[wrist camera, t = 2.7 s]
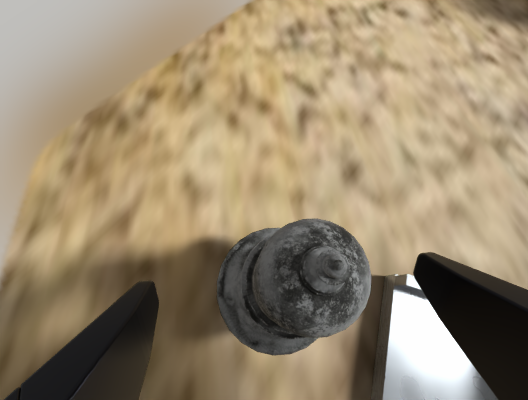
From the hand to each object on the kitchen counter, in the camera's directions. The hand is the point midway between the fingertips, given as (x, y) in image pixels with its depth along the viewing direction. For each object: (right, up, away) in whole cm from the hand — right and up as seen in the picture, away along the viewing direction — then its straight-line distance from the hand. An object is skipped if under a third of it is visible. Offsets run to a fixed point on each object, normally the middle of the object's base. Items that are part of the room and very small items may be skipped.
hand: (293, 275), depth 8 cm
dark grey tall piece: (-1, -3, +7) cm, 8 cm away
